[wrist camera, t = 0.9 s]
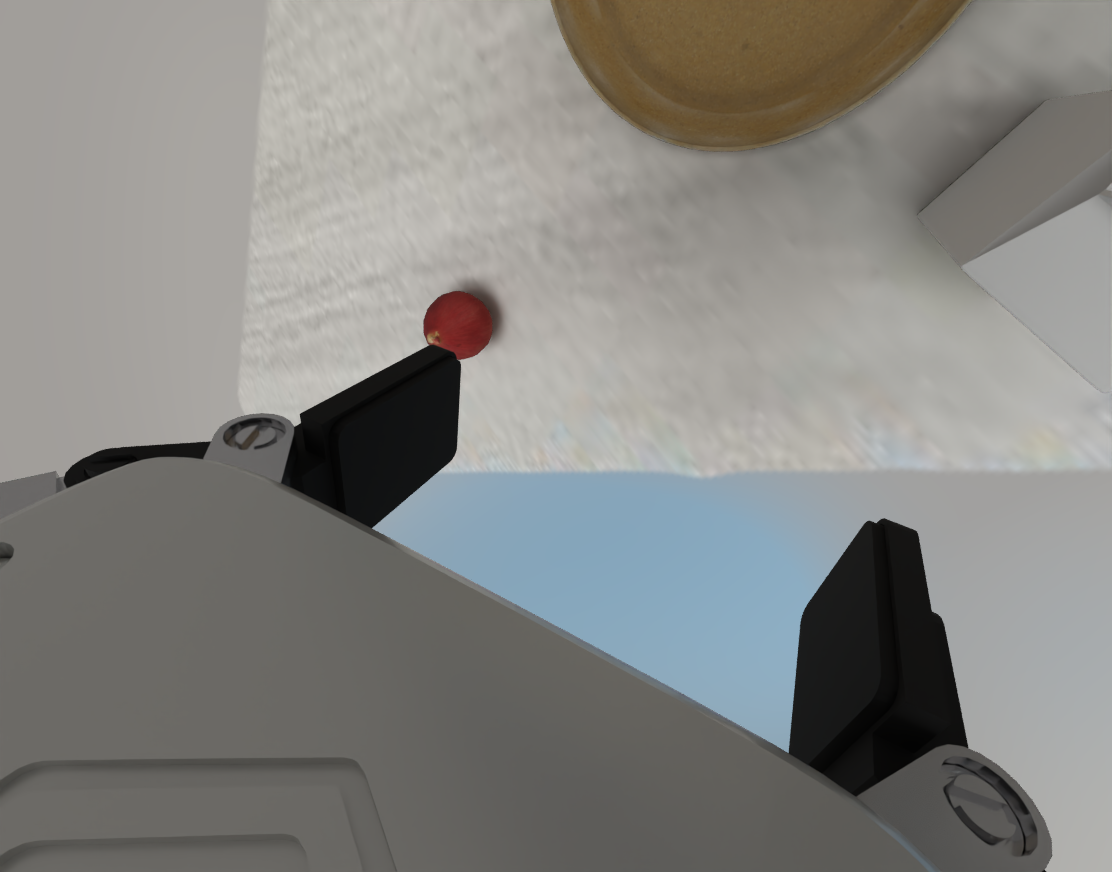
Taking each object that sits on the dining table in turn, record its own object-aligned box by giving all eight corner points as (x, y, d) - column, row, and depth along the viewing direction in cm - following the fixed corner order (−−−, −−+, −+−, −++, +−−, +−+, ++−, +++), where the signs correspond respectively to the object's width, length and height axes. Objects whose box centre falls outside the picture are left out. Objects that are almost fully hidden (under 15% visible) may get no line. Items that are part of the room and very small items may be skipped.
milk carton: (1003, 294, 31) (1151, 445, 16) (914, 215, 31) (981, 294, 16) (1151, 189, 26) (1547, 267, 12) (1047, 97, 26) (1308, 57, 12)
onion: (482, 354, 50) (432, 386, 44) (445, 306, 49) (388, 332, 43) (519, 322, 46) (470, 352, 40) (480, 269, 46) (423, 291, 40)
